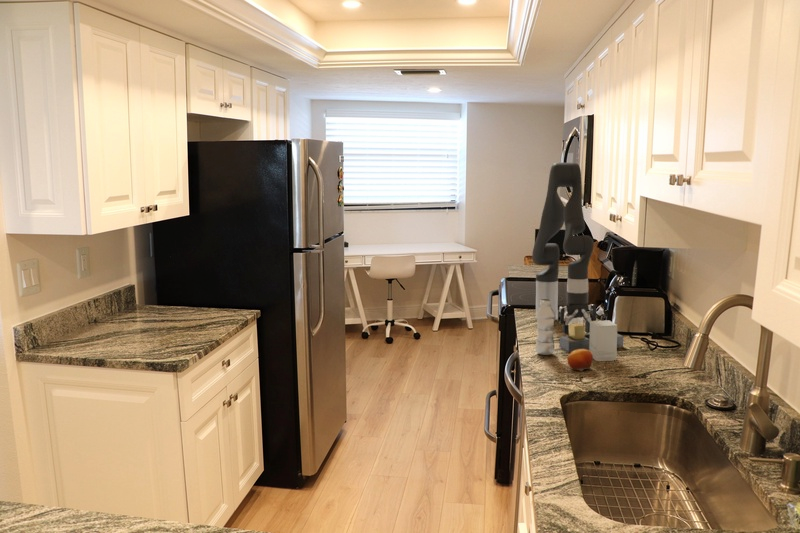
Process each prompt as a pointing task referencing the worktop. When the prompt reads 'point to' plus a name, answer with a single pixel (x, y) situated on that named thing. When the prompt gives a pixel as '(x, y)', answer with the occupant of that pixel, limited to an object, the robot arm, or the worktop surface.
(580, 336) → the pale yellow block
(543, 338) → the plastic bottle
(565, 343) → the gray compartment tray
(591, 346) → the supplement box
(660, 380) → the worktop surface
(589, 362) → the fruit
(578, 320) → the white cup
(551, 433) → the worktop surface
